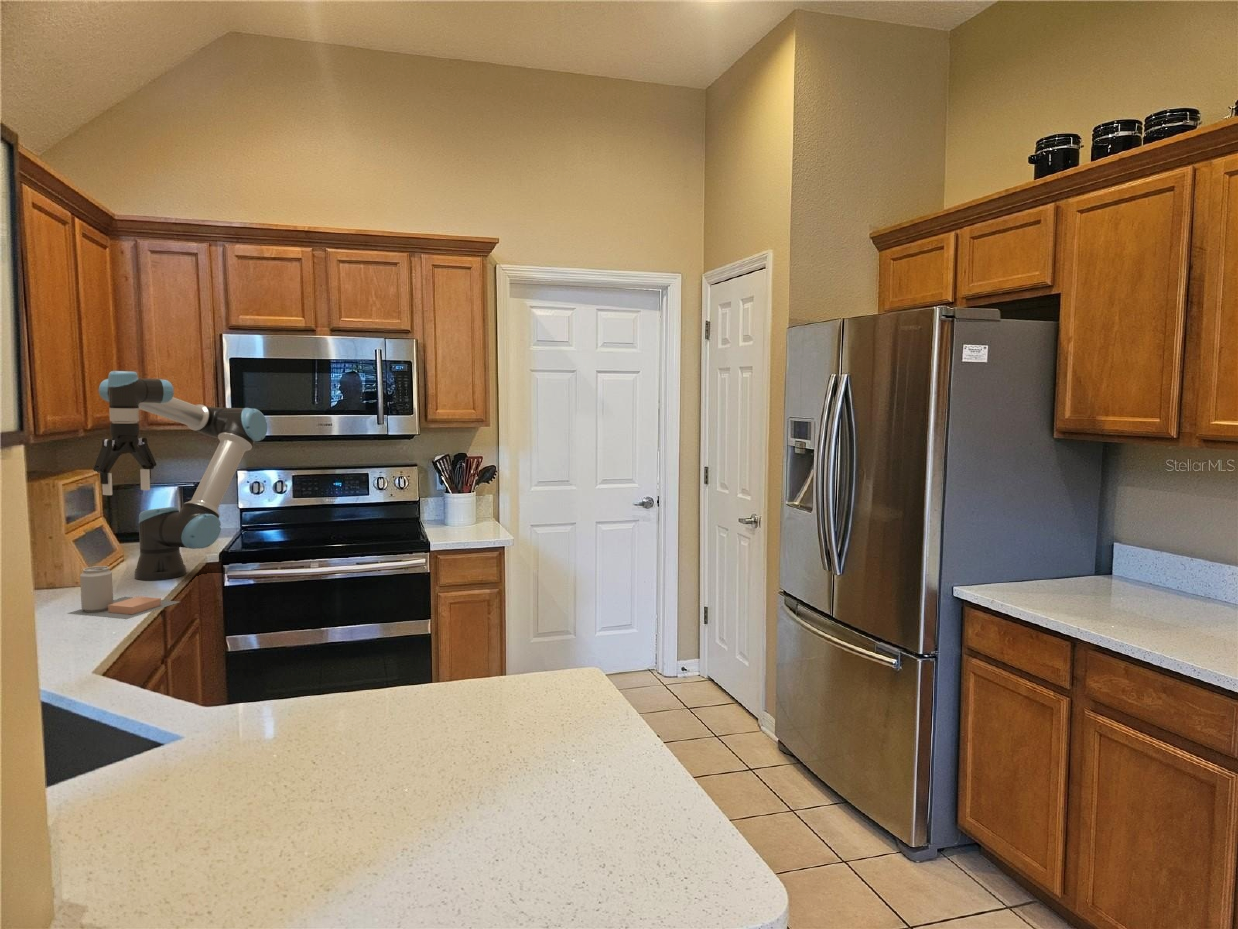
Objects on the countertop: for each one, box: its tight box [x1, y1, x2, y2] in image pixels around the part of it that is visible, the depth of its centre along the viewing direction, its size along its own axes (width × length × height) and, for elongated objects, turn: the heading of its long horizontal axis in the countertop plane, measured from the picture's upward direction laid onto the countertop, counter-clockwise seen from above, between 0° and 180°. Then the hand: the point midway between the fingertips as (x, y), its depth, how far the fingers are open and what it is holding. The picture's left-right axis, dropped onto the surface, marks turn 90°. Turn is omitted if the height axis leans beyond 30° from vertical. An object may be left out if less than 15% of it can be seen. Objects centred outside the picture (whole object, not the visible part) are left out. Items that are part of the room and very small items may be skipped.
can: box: [79, 565, 114, 612], centre depth 219 cm, size 8×8×12 cm
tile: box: [108, 595, 162, 615], centre depth 220 cm, size 2×8×10 cm
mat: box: [66, 596, 180, 620], centre depth 222 cm, size 19×20×1 cm
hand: (127, 492), depth 235 cm, fingers open, 13 cm apart
